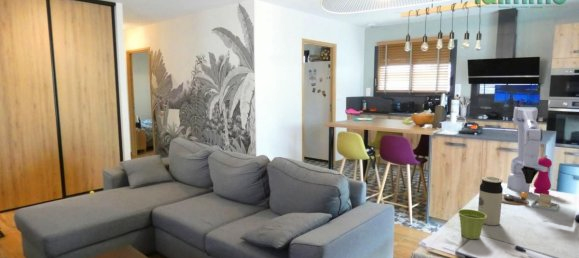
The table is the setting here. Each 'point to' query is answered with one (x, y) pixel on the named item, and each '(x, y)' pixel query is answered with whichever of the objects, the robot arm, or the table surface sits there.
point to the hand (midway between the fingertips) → (528, 183)
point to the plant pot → (471, 223)
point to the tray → (545, 207)
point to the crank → (511, 197)
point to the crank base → (513, 201)
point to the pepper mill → (543, 177)
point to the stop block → (545, 200)
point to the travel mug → (490, 199)
